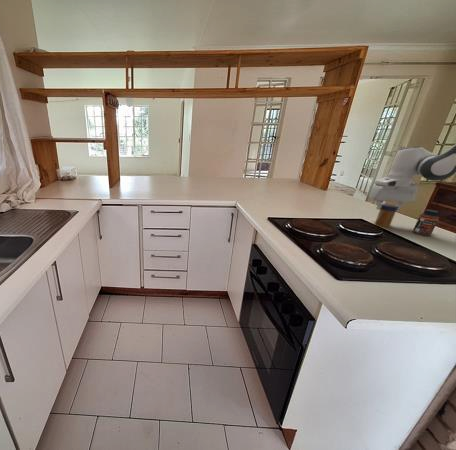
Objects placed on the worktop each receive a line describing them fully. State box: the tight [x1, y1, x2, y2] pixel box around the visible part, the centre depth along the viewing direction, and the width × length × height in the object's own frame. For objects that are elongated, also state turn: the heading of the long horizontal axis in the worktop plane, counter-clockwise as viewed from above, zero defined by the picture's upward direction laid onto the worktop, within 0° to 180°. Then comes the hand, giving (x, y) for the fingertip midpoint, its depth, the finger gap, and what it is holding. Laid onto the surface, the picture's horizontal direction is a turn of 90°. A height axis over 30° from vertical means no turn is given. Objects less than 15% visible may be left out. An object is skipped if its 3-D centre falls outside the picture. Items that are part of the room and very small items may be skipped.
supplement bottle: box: [412, 209, 440, 237], centre depth 108 cm, size 6×6×11 cm
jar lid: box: [381, 203, 398, 212], centre depth 116 cm, size 6×6×2 cm
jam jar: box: [374, 209, 397, 228], centre depth 118 cm, size 6×6×10 cm
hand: (387, 209), depth 117 cm, fingers open, 7 cm apart
